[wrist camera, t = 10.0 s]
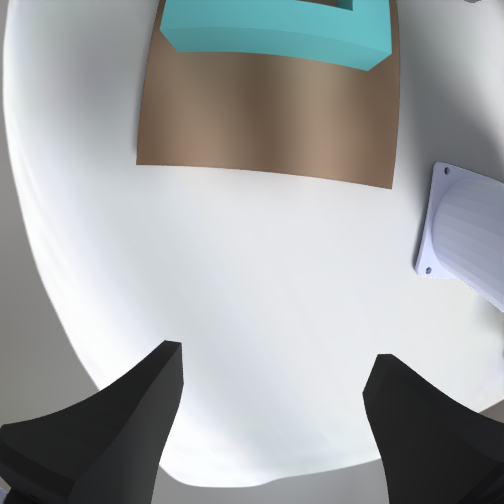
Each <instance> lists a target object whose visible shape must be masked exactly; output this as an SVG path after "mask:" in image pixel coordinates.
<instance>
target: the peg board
mask: <svg viewBox="0 0 504 504" xmlns="http://www.w3.org/2000/svg"><path fill="white" fill-rule="evenodd" d="M297 1H304V2H311V3H317V4H322V5H327V6H332V7H337V0H297ZM165 4H166V0H160V2H159V6H158V10H157V14H156V19H155V23H154V28H153V33H152V38H151V43H150V49H149V54H148V60H147V66H146V73H145V79H144V87H143V94H142V102H141V111H140V121H139V132H138V145H137V161H136V165H166V166H193V167H211V168H227V169H240V170H252V171H263V172H273V173H283V174H292V175H300V176H308V177H316V178H323V179H331V180H337V181H344V182H351V183H357V184H363V185H369V186H375V187H380V188H386V189H391V190H392V183H393V175H394V167H395V157H396V147H397V135H398V120H399V98H400V48H399V28H398V14H397V4H396V0H389V10H390V24H391V49H392V54H391V55H389V56H388V57H386V58H385V59H384V60H382V61H381V62H380V63H378V64H377V65H376V66H374V67H373V68H372V69H370V70H369V71H365V70H361V69H356V68H352V67H348V66H343V65H338V64H333V63H328V62H322V61H317V60H310V59H304V58H297V57H289V56H281V55H271V54H260V53H244V52H177V51H176V49H175V48H174V47H173V46H172V44H171V43H170V42H169V41H168V39H167V38H166V37H165V36H164V35H163V33H162V32H161V31H160V26H161V21H162V17H163V12H164V8H165Z"/></svg>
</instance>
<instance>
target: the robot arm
mask: <svg viewBox="0 0 504 504" xmlns="http://www.w3.org/2000/svg"><path fill="white" fill-rule="evenodd" d="M445 168H446V169H447V173H446V174H445V172H444V170H445ZM428 267H429V270H428V271H427V272H426V269H427V268H428ZM415 272H416V274H417V275H418V276H421V277H432V278H446V279H459V280H461V281H462V282H464V283H465V284H466V285H468V286H469V287H471V288H472V289H473V290H475V291H476V292H477V293H479V294H480V295H481V296H483V297H484V298H485V299H486V300H488V301H489V302H490V303H492V304H493V305H494V306H495V307H497V308H498V309H499V310H501V311H502V312H503V313H504V183H501V182H499V181H496V180H494V179H491V178H488V177H486V176H483V175H480V174H477V173H474V172H471V171H469V170H466V169H463V168H459V167H456V166H453V165H450V164H447V163H443V162H436V163H435V164H434V167H433V175H432V183H431V190H430V197H429V204H428V210H427V216H426V221H425V226H424V231H423V236H422V241H421V246H420V250H419V255H418V259H417V263H416V267H415ZM183 385H184V382H183V365H182V344H181V343H180V342H173V341H166V340H165V341H163V342H162V343H161V344H160V345H159V346H158V347H156V348H155V349H154V350H153V351H152V352H151V353H150V354H149V355H147V356H146V357H145V358H144V359H143V360H142V361H140V362H139V363H138V364H137V365H136V366H134V367H133V368H132V369H131V370H129V371H128V372H127V373H126V374H124V375H123V376H122V377H120V378H119V379H117V380H116V381H115V382H113V383H112V384H110V385H109V386H107V387H106V388H104V389H103V390H101V391H100V392H98V393H96V394H94V395H93V396H91V397H89V398H87V399H85V400H83V401H81V402H79V403H77V404H74V405H72V406H70V407H68V408H65V409H63V410H60V411H58V412H55V413H52V414H49V415H46V416H42V417H40V418H35V419H32V420H27V421H22V422H17V423H11V424H5V425H3V426H2V427H1V428H0V476H1V477H2V479H4V481H5V482H6V483H7V484H8V485H9V486H10V487H11V490H10V491H9V493H7V492H6V491H5V490H4V489H2V488H1V487H0V504H151V500H152V495H153V489H154V484H155V479H156V475H157V470H158V465H159V462H160V458H161V455H162V452H163V449H164V446H165V444H166V441H167V438H168V435H169V433H170V430H171V427H172V424H173V422H174V419H175V416H176V413H177V410H178V407H179V403H180V399H181V394H182V390H183ZM362 394H363V399H364V405H365V410H366V414H367V418H368V421H369V423H370V426H371V429H372V432H373V435H374V438H375V441H376V444H377V447H378V449H379V452H380V455H381V458H382V462H383V466H384V470H385V475H386V481H387V487H388V495H389V504H504V423H501V422H498V421H495V420H493V419H490V418H488V417H485V416H483V415H481V414H479V413H476V412H474V411H472V410H470V409H469V408H467V407H465V406H463V405H461V404H460V403H458V402H456V401H455V400H453V399H452V398H450V397H449V396H447V395H446V394H444V393H443V392H441V391H440V390H438V389H437V388H436V387H434V386H433V385H432V384H430V383H429V382H428V381H426V380H425V379H424V378H422V377H421V376H420V375H419V374H417V373H416V372H415V371H414V370H412V369H411V368H410V367H409V366H407V365H406V364H405V363H403V362H402V361H401V360H399V359H398V358H397V357H395V356H394V355H392V354H378V355H377V358H376V360H375V363H374V366H373V368H372V371H371V373H370V376H369V378H368V381H367V383H366V386H365V388H364V391H363V393H362Z"/></svg>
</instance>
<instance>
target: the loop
mask: <svg viewBox="0 0 504 504" xmlns="http://www.w3.org/2000/svg"><path fill="white" fill-rule="evenodd" d="M160 31H161V32H162V33H163V35H164V36H165V37H166V38H167V39H168V41H169V42H170V43H171V44H172V46H173V47H174V48H175V49H176V51H177V52H244V53H260V54H271V55H281V56H289V57H297V58H304V59H310V60H317V61H322V62H328V63H333V64H338V65H343V66H348V67H352V68H356V69H361V70H365V71H369V70H370V69H372V68H373V67H374V66H376V65H377V64H378V63H380V62H381V61H382V60H384V59H385V58H386V57H388V56H389V55H391V54H392V49H391V24H390V10H389V0H337V7H332V6H327V5H322V4H317V3H311V2H304V1H297V0H166V4H165V8H164V12H163V17H162V21H161V26H160Z"/></svg>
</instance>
